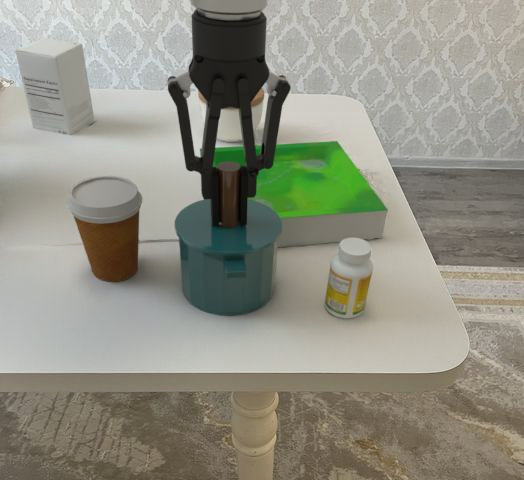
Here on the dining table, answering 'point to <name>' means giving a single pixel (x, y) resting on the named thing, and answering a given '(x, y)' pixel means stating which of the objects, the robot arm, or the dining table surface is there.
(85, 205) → the disposable coffee cup
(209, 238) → the lid
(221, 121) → the lidded bowl
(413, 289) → the dining table surface
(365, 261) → the supplement bottle
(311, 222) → the tray
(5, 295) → the dining table surface
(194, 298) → the pot
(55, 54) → the rectangular carton
